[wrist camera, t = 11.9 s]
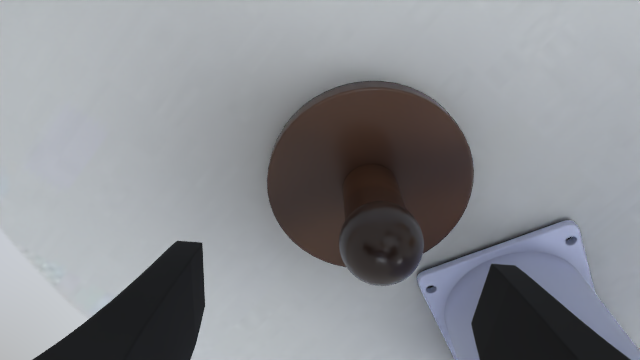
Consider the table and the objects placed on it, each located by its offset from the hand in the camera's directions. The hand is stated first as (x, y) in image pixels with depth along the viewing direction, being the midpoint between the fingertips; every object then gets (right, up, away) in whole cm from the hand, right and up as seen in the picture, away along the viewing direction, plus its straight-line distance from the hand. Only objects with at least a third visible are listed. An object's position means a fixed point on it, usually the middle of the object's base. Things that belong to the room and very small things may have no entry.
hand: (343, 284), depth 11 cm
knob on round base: (+2, +3, +9) cm, 10 cm away
